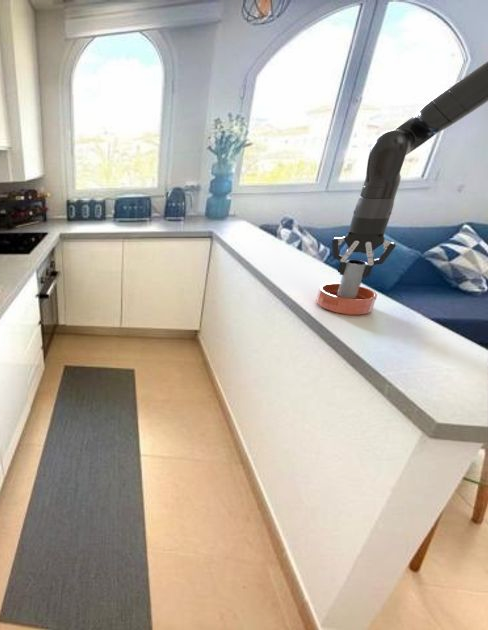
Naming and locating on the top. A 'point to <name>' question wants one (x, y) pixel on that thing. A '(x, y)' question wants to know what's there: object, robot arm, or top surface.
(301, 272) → the top surface
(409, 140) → the robot arm
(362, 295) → the bowl
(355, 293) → the grey cylinder
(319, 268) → the top surface
